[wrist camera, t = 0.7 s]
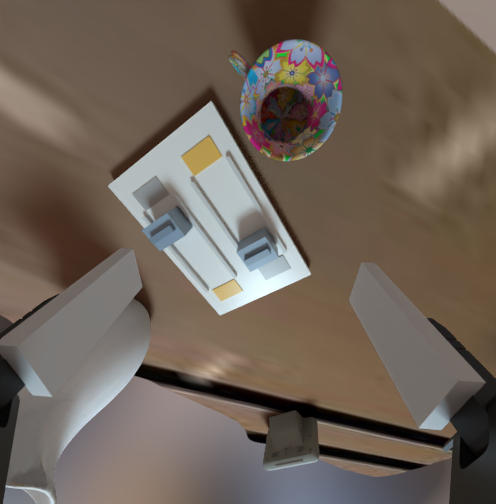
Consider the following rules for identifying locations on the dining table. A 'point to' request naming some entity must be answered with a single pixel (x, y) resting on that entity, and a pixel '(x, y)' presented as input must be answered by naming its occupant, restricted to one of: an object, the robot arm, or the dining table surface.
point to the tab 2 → (257, 249)
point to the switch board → (211, 211)
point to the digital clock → (291, 441)
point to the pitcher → (74, 403)
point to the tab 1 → (168, 228)
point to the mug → (289, 98)
